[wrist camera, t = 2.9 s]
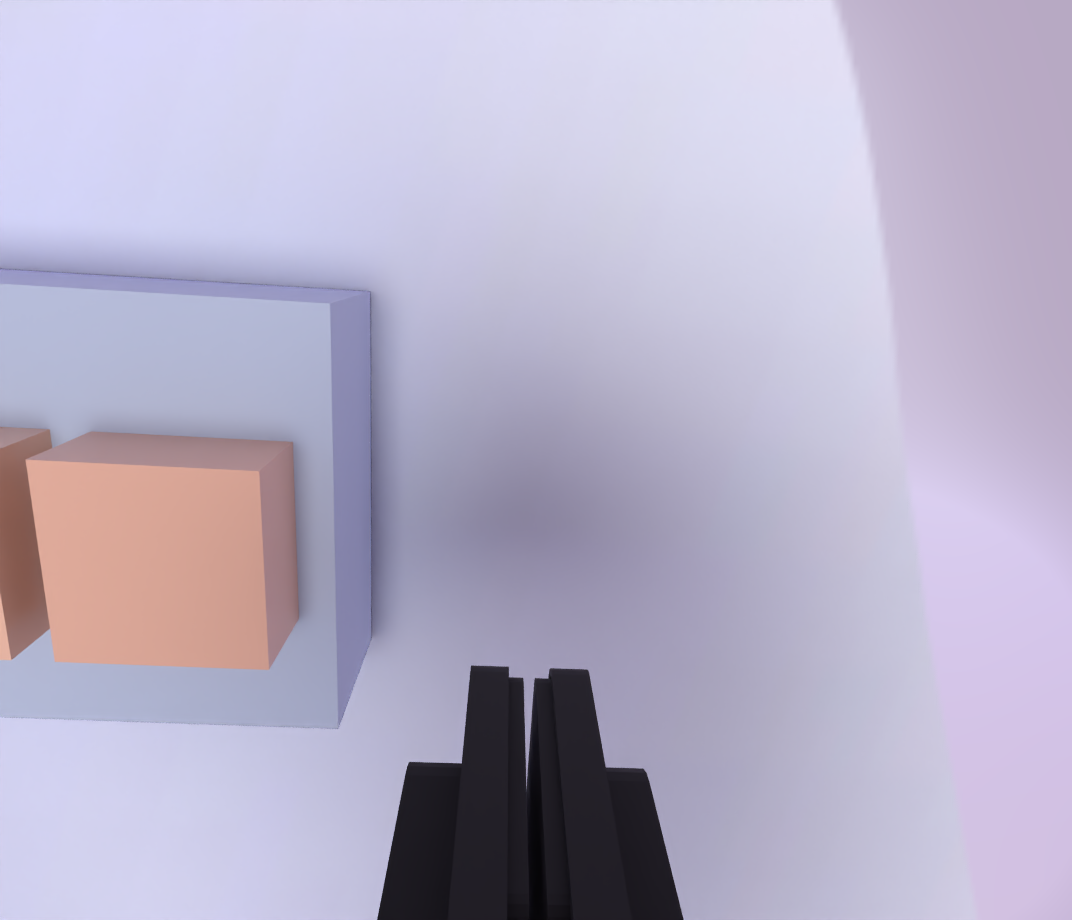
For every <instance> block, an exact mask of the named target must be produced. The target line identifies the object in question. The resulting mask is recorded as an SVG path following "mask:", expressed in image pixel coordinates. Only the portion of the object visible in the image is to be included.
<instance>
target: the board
mask: <svg viewBox="0 0 1072 920" xmlns="http://www.w3.org/2000/svg"><path fill="white" fill-rule="evenodd" d="M0 427H15V428H35V429H50V435H51V442H52V448H54V447H56V446H58V445H60V444H63V443H65V442H67V441H70V440H72V439H74V438H77V437H79V436H81V435H84V434H86V433H88V432H91V431H93V432H112V433H132V434H151V435H171V436H190V437H210V438H229V439H248V440H268V441H287V442H293V459H294V487H295V516H296V544H297V572H298V601H299V619H298V621H297V623H296V625H295V626H294V628H293V630H292V631H291V633H290V635H289V637H288V638H287V640H286V642H285V643H284V645H283V647H282V649H281V650H280V652H279V654H278V655H277V657H276V659H275V661H274V662H273V664H272V666H271V667H270V669H269V670H256V669H229V668H203V667H176V666H150V665H123V664H96V663H70V662H55V660H54V653H53V646H52V639H51V632H50V629H49V630H48V631H46V632H45V633H44V634H43V635H42V636H40V637H39V638H38V639H37V640H36V641H34V642H33V643H32V644H31V645H29V646H28V647H27V648H26V649H25V650H23V651H22V652H21V653H20V654H18V655H17V656H16V657H15V658H14V659H12V660H0V717H5V718H34V719H64V720H93V721H122V722H151V723H181V724H210V725H239V726H268V727H298V728H327V729H338V728H339V725H340V723H341V720H342V717H343V714H344V712H345V709H346V706H347V703H348V701H349V698H350V695H351V693H352V690H353V687H354V684H355V682H356V679H357V676H358V674H359V671H360V668H361V665H362V663H363V660H364V657H365V655H366V652H367V649H368V646H369V644H370V641H371V638H372V635H371V347H370V291H356V290H339V289H323V288H306V287H290V286H274V285H257V284H241V283H224V282H208V281H191V280H175V279H159V278H142V277H126V276H109V275H93V274H76V273H60V272H43V271H27V270H11V269H0Z"/></svg>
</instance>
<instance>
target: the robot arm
mask: <svg viewBox="0 0 1072 920" xmlns="http://www.w3.org/2000/svg"><path fill="white" fill-rule="evenodd" d="M377 920H683V916H682V912H681V908H680V904H679V900H678V896H677V892H676V888H675V884H674V880H673V876H672V872H671V868H670V864H669V859H668V855H667V851H666V847H665V843H664V839H663V835H662V831H661V827H660V823H659V819H658V815H657V811H656V807H655V803H654V799H653V795H652V791H651V787H650V783H649V780H648V777H647V773H646V772H645V770H644V769H636V768H606V767H605V762H604V756H603V750H602V744H601V739H600V733H599V727H598V721H597V716H596V710H595V704H594V698H593V693H592V687H591V681H590V675H589V671H588V670H582V669H554V668H550V671H549V678H548V679H540V678H535V682H534V693H533V707H532V721H531V735H530V749H529V763H528V777H527V791H526V760H525V722H524V683H523V678H511V677H509V667H496V666H471V671H470V682H469V692H468V703H467V714H466V725H465V736H464V746H463V757H462V764H459V763H423V762H409V764H408V766H407V770H406V775H405V780H404V785H403V790H402V795H401V800H400V805H399V810H398V816H397V821H396V826H395V831H394V836H393V841H392V846H391V852H390V857H389V862H388V867H387V872H386V877H385V883H384V888H383V893H382V898H381V903H380V908H379V913H378V919H377Z"/></svg>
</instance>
